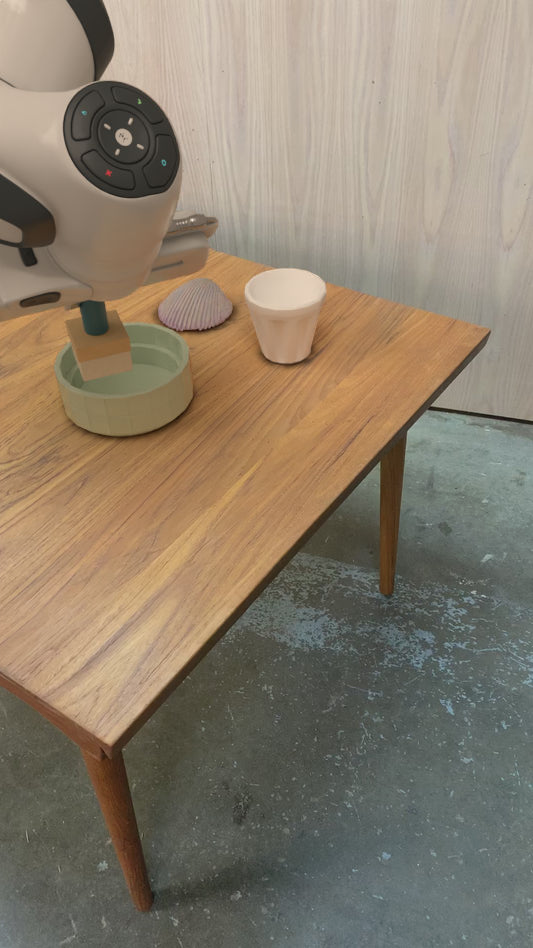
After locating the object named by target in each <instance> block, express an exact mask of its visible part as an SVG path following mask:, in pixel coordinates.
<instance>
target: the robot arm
mask: <svg viewBox="0 0 533 948" xmlns="http://www.w3.org/2000/svg"><path fill="white" fill-rule="evenodd" d="M113 29H114V28H113V25H112V22H111V18H110V15H109V13H108V11H107V6H106V5H105V3H104V0H0V323H3V322H7V321H11V320H14V319H19V318H22V317H26V316H30V315H35V314H38V313H42V312H46V311H50V310H54V309H55V310H56V309H59V308H62V307H63V309H64V311H65V312H67V311H70V310H75V309H80V307H81V302H83V301H87V300H93V301H104V302H105V303H106V302H114V301H118V300H121V299H125V298H127V297H129V296H131V295H132V294H134V293H135V292H137V291H138V290H139V289H140V288H143V287H146V286H150V285H155V284H159V283H162V282H163V283H164V282H168V281H171V280H175V279H180V278H183V277H187V276H191V275H194V274H196V273H198V272H200V271H202V270H203V269H204V268H205V267H206V265H207V263H208V260H209V256H210V245H209V242H208V239H210V238H211V237H212V236H214V235H215V233H216V232H217V230H218V228H219V219H218V218H217V217H216V215H210V216H206V215H205V214H204V213H198V212H197V211H195V210H191V209H185V210H177V207H178V203H179V200H180V196H181V191H182V184H183V183H182V182H183V172H184V171H183V170H184V169H183V168H184V167H183V166H184V165H183V162H184V161H183V153H182V148H181V144H180V140H179V137H178V134H177V131H176V129H175V127H174V125H173V123H172V121H171V119H170V117H169V115H168V114H167V112H166V111H165V110H164V109H163V107H162V106H161V105H160V104H159V103H158V102H157V101H156V99H154V97H152V96H151V95H150V94H149V93H148V92H146V91H144V90H143V89H142V88H139V87H137V86H136V85H133V84H131V83H129V82H125V81H122V80H116V79H115V80H114V79H102V76H103V75H104V73H105V72H106V70H107V69H108V66H110V65H109V64H110V63H111V62H112V59H113V57H114V53H115V47H116V43H115V42H116V41H115V33H114V30H113ZM176 210H177V211H176Z"/></svg>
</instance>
